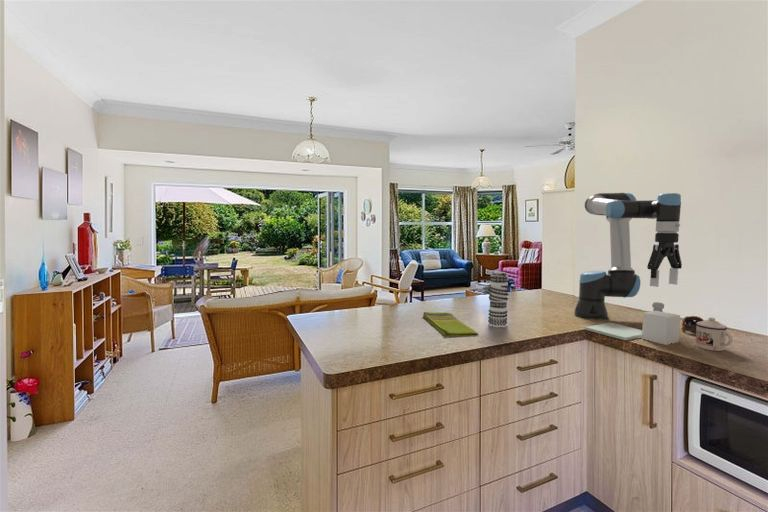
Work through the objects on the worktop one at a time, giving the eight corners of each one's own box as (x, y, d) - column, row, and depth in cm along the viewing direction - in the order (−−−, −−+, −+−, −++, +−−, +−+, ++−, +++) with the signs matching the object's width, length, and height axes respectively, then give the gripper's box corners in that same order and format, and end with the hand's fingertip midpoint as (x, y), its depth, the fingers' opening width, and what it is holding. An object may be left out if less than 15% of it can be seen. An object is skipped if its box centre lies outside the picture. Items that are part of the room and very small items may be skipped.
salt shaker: (663, 330, 170) (665, 302, 169) (666, 334, 165) (668, 304, 164) (647, 329, 172) (649, 301, 171) (650, 332, 167) (651, 303, 166)
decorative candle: (506, 323, 182) (508, 271, 180) (509, 328, 173) (511, 273, 171) (486, 322, 183) (488, 270, 181) (488, 327, 174) (490, 273, 172)
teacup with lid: (688, 344, 150) (690, 315, 149) (707, 343, 152) (709, 314, 151) (720, 354, 138) (723, 323, 138) (740, 353, 140) (743, 322, 139)
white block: (641, 338, 158) (643, 312, 157) (654, 336, 162) (655, 310, 161) (665, 345, 150) (667, 317, 149) (678, 341, 154) (680, 315, 153)
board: (584, 329, 171) (585, 327, 171) (610, 325, 179) (610, 322, 179) (625, 340, 155) (625, 337, 155) (651, 335, 163) (651, 332, 163)
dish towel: (451, 316, 196) (451, 310, 196) (479, 336, 161) (479, 329, 161) (422, 317, 194) (422, 311, 194) (444, 338, 159) (444, 330, 159)
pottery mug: (716, 337, 163) (711, 321, 161) (693, 345, 165) (688, 330, 163) (696, 323, 174) (691, 308, 172) (674, 330, 176) (670, 316, 174)
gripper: (659, 232, 143) (656, 288, 145) (694, 232, 155) (690, 284, 156) (638, 232, 150) (635, 285, 152) (673, 232, 161) (670, 282, 163)
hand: (663, 285), depth 154 cm, fingers open, 13 cm apart
